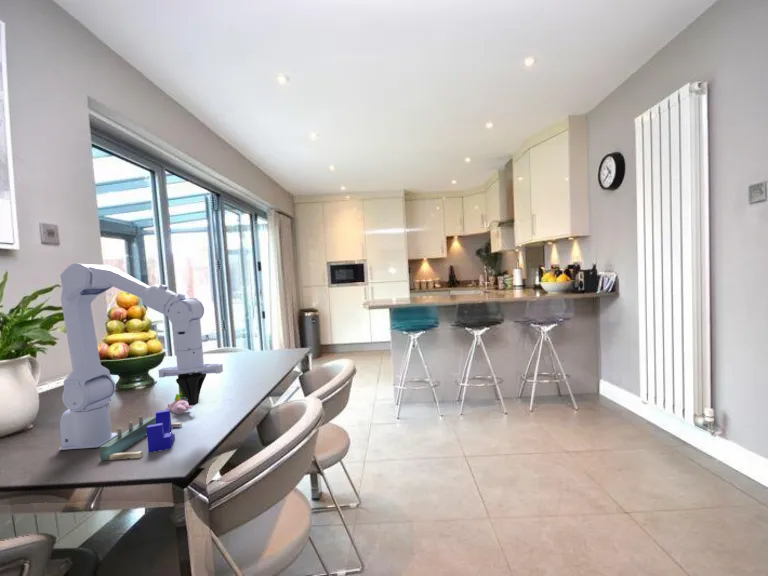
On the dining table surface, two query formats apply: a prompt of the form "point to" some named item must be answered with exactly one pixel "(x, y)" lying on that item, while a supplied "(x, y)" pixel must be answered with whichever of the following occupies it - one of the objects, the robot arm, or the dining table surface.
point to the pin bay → (128, 440)
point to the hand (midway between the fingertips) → (193, 404)
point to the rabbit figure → (178, 405)
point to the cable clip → (160, 432)
